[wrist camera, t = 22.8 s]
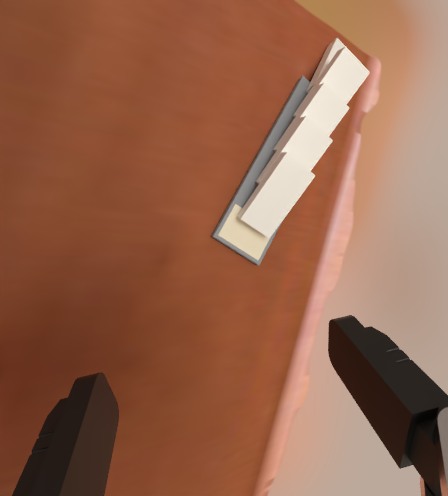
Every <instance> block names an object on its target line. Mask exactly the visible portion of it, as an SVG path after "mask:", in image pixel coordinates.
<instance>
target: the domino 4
mask: <svg viewBox="0 0 448 496" xmlns="http://www.w3.org/2000/svg"><path fill="white" fill-rule="evenodd" d="M332 141H333V140H332V139H331V138H330V137H329V136H327V135H326V134H325V133H324V132H323V131H322V130H321V129H320V128H319V127H318V126H316V125H315V124H314V123H313V122H312V121H311V120H310V119H309V118H308V117H306V116H304V117H301V118H299V119H298V121H297V122H296V123H295V125H294V126H293V128H292V129H291V131H290V132H289V134H288V135H287V136H286V138H285V139H284V141H283V142H282V144H281V145H280V147H279V148H278V149H277V151H276V152H275V154H274V155H273V157H272V158H271V160H270V161H269V163H268V164H267V165H266V167H265V168H264V170H263V171H262V173H261V174H260V176H259V177H258V178H257V180H256V181H255V182H257V183H258V184H260V182H261V181H262V179H263V178H264V176H265V175H266V173H267V172H268V171H269V169H270V168H271V166H272V165H273V163H274V162H275V160H276V159H277V158H278V156H279V155H280V153H281V152H287V153H289V154H290V155H291V156H292V157H293V158H295V159H296V160H297V161H298V162H299V163H301V164H302V165H303V166H304V167H306V168H307V169H308V170H309V171H311V170H312V169H313V167H314V166H315V164H316V163H317V162H318V160H319V159H320V158H321V156H322V155H323V154H324V152H325V151H326V149H327V148H328V147H329V145H330V144H331V143H332Z"/></svg>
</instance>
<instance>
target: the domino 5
mask: <svg viewBox="0 0 448 496" xmlns="http://www.w3.org/2000/svg"><path fill="white" fill-rule="evenodd" d="M314 177H315V175H314V174H313V173H312V172H310V171H309V170H308V169H307V168H306V167H304V166H303V165H302V164H301V163H299V162H298V161H297V160H296V159H295V158H293V157H292V156H291V155H290V154H289V153H287V152H281V153H280V155H279V156H278V158H277V159H276V160H275V162H274V163H273V165H272V166H271V168H270V169H269V171H268V172H267V173H266V175H265V176H264V178H263V179H262V181H261V182H260V184H259V185H258V186H257V188H256V189H255V191H254V192H253V194H252V195H251V197H250V198H249V199H248V201H247V202H246V204H245V205H244V207H243V208H242V210H241V211H240V212H239V214H238V215H237V216H238V217H239V218H240V219H241V220H243V221H244V222H246V223H247V224H249V225H250V226H251V227H253V228H254V229H256V230H257V231H259V232H260V233H262V234H263V235H265V236H266V237H268V238H269V239H270V237H271V236H272V235H273V233H274V232H275V230H276V229H277V228H278V226H279V225H280V224H281V222H282V221H283V219H284V218H285V217H286V215H287V214H288V213H289V211H290V210H291V209H292V207H293V206H294V204H295V203H296V202H297V200H298V199H299V198H300V196H301V195H302V193H303V192H304V191H305V189H306V188H307V187H308V185H309V184H310V182H311V181H312V180H313V178H314Z"/></svg>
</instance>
